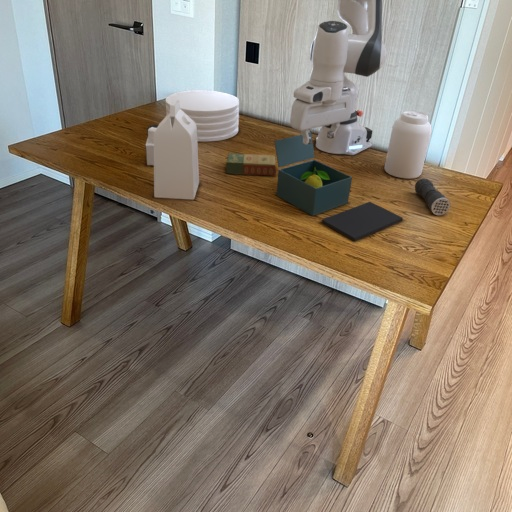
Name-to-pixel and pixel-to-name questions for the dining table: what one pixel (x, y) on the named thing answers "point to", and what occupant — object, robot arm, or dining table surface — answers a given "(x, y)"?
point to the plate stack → (209, 112)
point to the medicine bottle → (150, 144)
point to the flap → (293, 150)
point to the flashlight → (432, 197)
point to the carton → (251, 164)
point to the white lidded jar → (408, 145)
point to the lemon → (315, 178)
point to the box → (308, 196)
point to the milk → (176, 156)
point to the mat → (361, 221)
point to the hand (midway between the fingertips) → (318, 140)
